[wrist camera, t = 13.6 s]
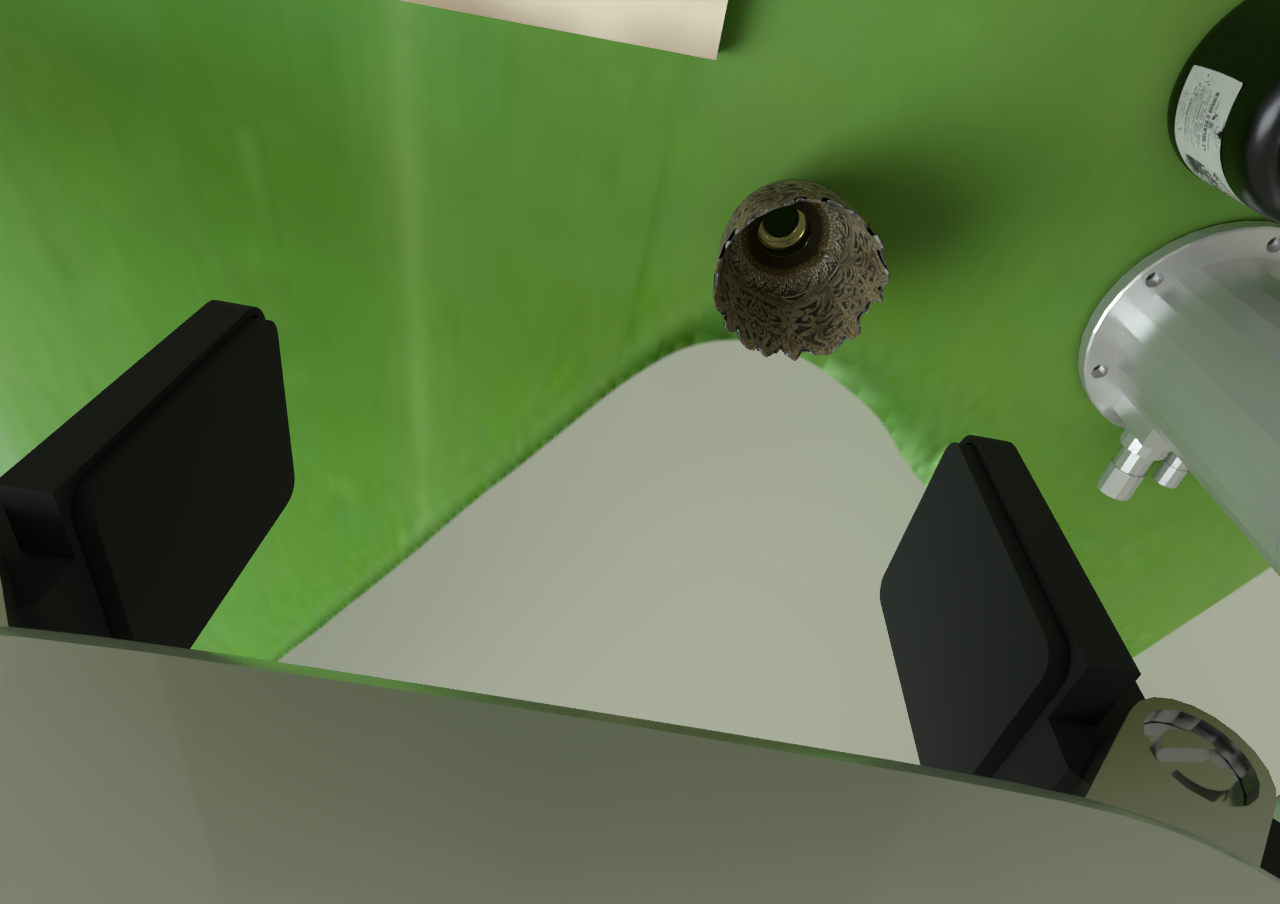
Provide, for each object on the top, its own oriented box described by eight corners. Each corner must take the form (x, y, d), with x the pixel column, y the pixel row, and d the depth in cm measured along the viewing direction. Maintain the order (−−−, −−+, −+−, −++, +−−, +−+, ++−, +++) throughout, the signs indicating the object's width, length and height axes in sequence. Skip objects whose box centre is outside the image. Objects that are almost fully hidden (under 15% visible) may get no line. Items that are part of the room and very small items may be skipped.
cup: (796, 310, 43) (817, 388, 37) (681, 246, 41) (682, 316, 35) (885, 192, 39) (925, 256, 33) (761, 115, 37) (779, 167, 31)
